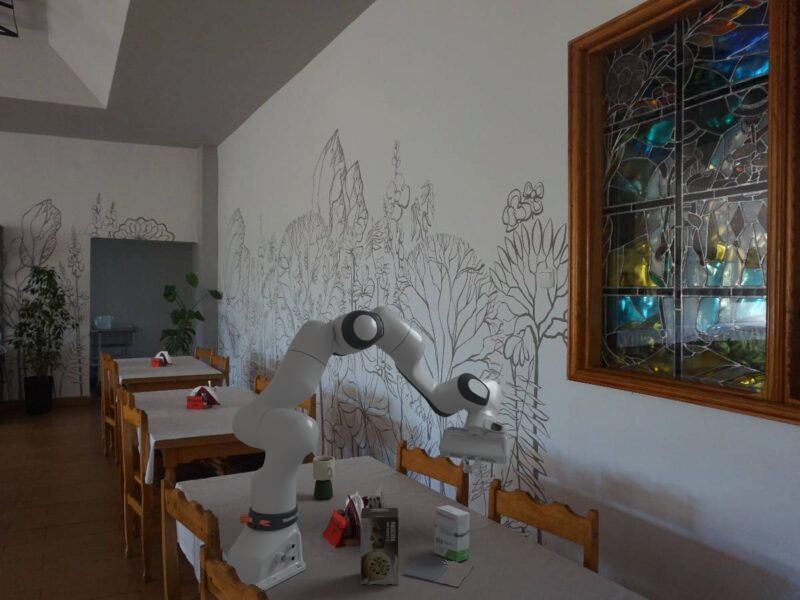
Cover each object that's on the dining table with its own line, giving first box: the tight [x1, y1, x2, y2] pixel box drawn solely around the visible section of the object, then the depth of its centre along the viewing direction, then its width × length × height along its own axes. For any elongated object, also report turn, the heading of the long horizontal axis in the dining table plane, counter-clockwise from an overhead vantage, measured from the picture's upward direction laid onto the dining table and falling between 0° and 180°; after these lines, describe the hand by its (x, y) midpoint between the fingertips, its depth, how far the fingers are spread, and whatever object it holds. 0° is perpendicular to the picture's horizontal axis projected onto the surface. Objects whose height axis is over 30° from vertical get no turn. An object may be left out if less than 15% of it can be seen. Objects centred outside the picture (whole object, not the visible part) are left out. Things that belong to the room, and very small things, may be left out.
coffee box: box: [359, 507, 400, 586], centre depth 149 cm, size 9×6×16 cm
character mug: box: [312, 455, 336, 500], centre depth 204 cm, size 11×7×13 cm, turn 38°
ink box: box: [433, 504, 471, 562], centre depth 162 cm, size 9×5×12 cm, turn 39°
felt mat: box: [402, 553, 461, 582], centre depth 154 cm, size 12×14×1 cm
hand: (468, 472), depth 174 cm, fingers closed
